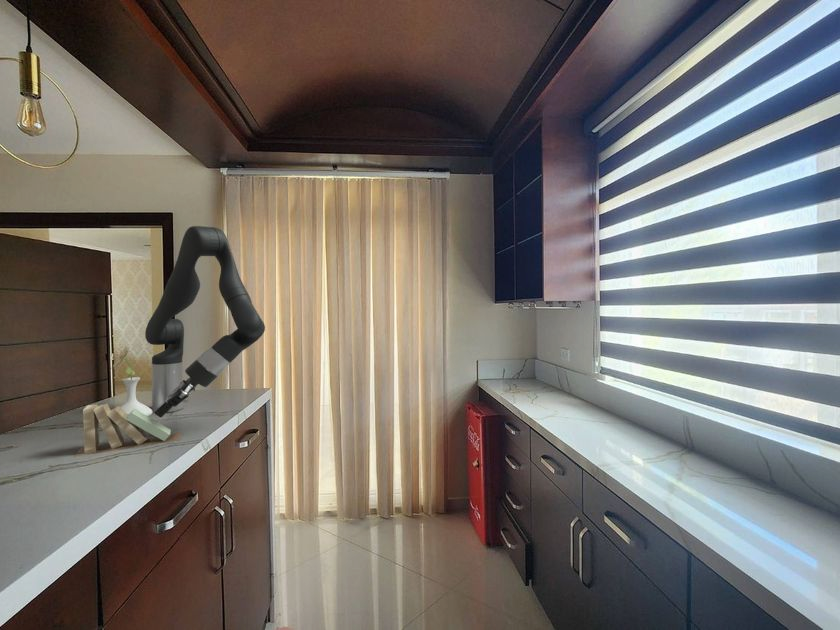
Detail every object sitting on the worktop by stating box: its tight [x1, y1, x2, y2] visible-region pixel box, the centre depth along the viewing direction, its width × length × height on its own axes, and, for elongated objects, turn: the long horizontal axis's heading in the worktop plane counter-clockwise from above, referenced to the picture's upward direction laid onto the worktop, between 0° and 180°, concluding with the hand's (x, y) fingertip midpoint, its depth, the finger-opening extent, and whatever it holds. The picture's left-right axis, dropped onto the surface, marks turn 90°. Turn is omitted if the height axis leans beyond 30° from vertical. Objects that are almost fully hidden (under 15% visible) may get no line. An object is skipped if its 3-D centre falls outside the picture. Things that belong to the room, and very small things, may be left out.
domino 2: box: [107, 405, 149, 445], centre depth 99 cm, size 2×5×11 cm
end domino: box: [82, 403, 100, 454], centre depth 95 cm, size 2×5×11 cm, turn 31°
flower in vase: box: [112, 345, 154, 417], centre depth 123 cm, size 13×11×25 cm
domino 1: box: [94, 402, 126, 449], centre depth 97 cm, size 2×5×11 cm, turn 31°
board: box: [73, 432, 182, 458], centre depth 100 cm, size 22×7×1 cm, turn 122°
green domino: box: [125, 409, 172, 441], centre depth 101 cm, size 2×5×11 cm
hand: (157, 415), depth 102 cm, fingers closed
